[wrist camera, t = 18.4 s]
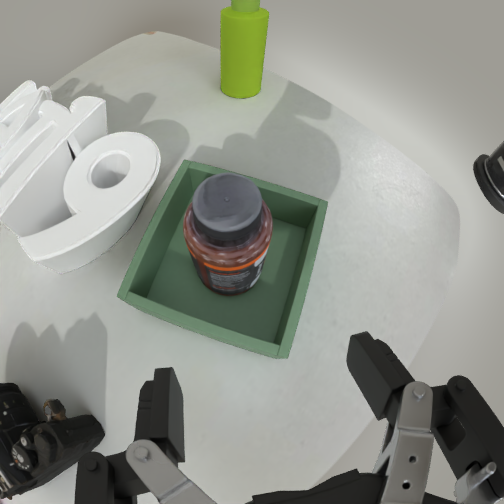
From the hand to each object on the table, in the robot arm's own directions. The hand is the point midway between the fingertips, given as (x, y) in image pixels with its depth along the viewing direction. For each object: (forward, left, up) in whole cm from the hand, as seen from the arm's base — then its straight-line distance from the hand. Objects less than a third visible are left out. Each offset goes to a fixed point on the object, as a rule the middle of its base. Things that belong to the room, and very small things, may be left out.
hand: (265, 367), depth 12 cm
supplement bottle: (+4, -8, -12) cm, 15 cm away
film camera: (+18, +17, -13) cm, 28 cm away
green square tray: (+5, -8, -13) cm, 16 cm away
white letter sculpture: (+30, -11, -13) cm, 34 cm away
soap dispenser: (+13, -34, -13) cm, 38 cm away
